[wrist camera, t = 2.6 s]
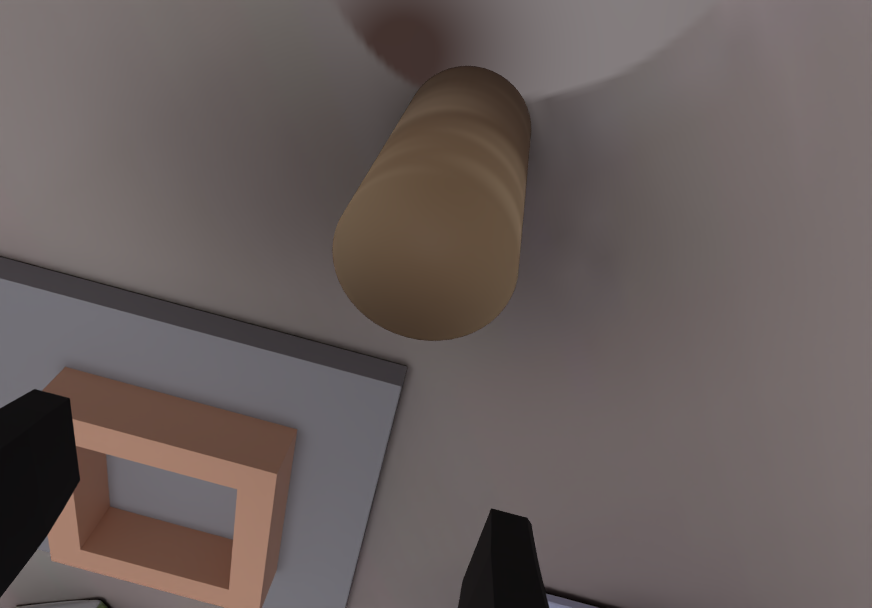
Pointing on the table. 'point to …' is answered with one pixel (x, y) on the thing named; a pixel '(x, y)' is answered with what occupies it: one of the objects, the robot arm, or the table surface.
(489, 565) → the robot arm
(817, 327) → the table surface
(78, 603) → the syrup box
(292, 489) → the collar stand
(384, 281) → the wood peg
